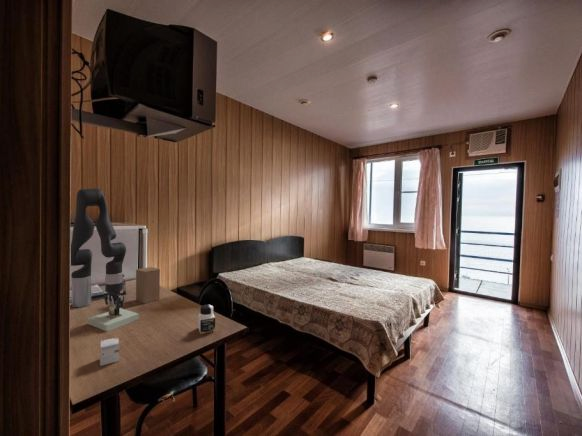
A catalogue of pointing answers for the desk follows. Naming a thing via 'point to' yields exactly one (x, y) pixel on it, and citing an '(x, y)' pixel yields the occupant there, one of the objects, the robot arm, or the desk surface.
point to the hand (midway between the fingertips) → (114, 314)
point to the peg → (112, 310)
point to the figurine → (124, 286)
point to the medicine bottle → (206, 319)
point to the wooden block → (147, 284)
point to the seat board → (113, 320)
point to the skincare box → (109, 351)
